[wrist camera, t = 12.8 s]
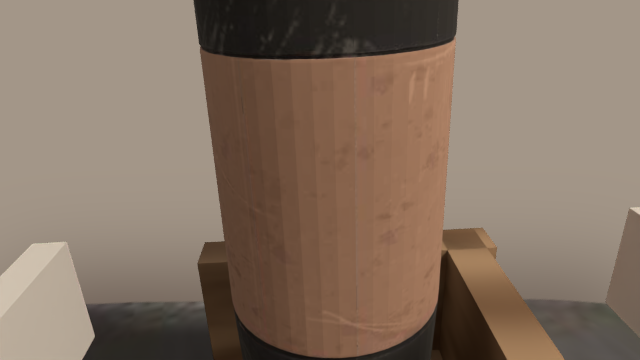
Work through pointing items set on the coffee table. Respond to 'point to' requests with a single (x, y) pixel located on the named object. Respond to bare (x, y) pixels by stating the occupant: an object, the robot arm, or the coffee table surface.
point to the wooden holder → (452, 307)
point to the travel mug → (331, 170)
